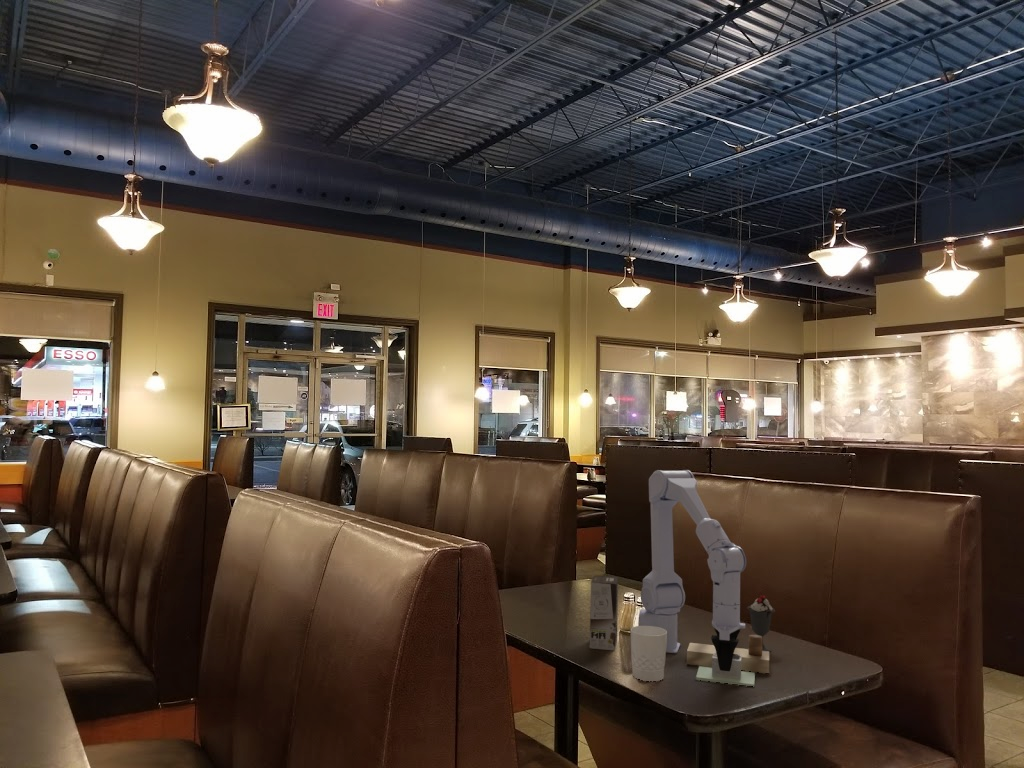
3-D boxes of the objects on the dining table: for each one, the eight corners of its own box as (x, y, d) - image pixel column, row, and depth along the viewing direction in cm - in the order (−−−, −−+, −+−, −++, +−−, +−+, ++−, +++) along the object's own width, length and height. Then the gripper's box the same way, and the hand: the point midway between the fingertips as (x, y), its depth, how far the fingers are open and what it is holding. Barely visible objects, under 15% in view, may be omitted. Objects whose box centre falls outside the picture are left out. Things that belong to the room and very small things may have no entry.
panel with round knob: (686, 663, 175) (687, 633, 176) (689, 655, 182) (690, 625, 182) (769, 673, 169) (769, 642, 170) (769, 664, 176) (769, 634, 176)
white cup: (641, 668, 171) (641, 623, 172) (673, 676, 166) (673, 630, 167) (623, 677, 165) (623, 630, 166) (655, 685, 160) (656, 637, 161)
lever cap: (711, 676, 165) (712, 655, 165) (713, 670, 169) (713, 649, 169) (740, 680, 163) (740, 658, 163) (741, 673, 167) (741, 652, 168)
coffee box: (615, 651, 184) (616, 583, 185) (588, 648, 185) (590, 582, 186) (617, 640, 193) (618, 576, 194) (592, 638, 194) (593, 574, 195)
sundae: (756, 654, 184) (757, 592, 184) (741, 646, 190) (741, 586, 191) (780, 653, 185) (780, 591, 186) (764, 645, 192) (764, 585, 192)
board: (696, 679, 164) (696, 677, 164) (699, 668, 172) (699, 666, 172) (754, 687, 161) (754, 684, 161) (754, 675, 168) (754, 672, 168)
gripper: (744, 611, 159) (743, 677, 158) (746, 597, 173) (745, 657, 172) (709, 608, 161) (709, 673, 160) (714, 594, 175) (713, 654, 174)
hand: (725, 665), depth 166 cm, fingers open, 7 cm apart
